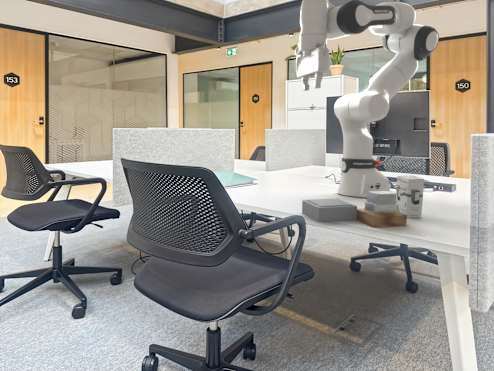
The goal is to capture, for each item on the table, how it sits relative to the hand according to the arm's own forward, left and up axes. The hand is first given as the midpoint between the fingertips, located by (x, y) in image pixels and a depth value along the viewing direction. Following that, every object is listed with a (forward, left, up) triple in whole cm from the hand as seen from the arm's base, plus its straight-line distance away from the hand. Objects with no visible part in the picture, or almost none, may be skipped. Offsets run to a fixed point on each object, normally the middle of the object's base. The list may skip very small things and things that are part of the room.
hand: (311, 89), depth 136 cm
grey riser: (+2, +20, -38) cm, 43 cm away
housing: (-9, +30, -36) cm, 47 cm away
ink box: (-23, +23, -39) cm, 51 cm away
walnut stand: (-9, +30, -38) cm, 50 cm away
